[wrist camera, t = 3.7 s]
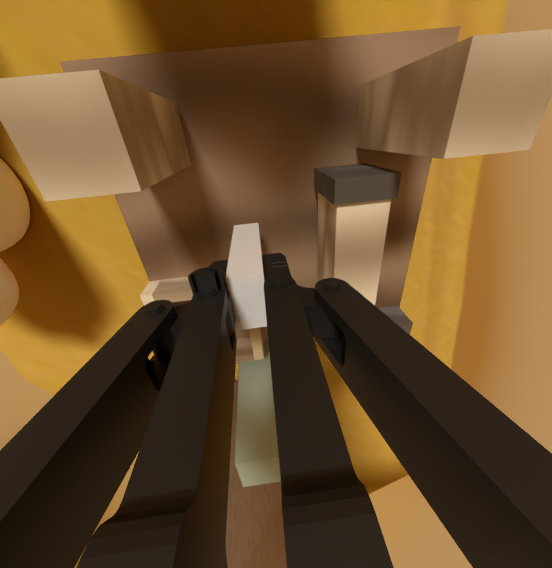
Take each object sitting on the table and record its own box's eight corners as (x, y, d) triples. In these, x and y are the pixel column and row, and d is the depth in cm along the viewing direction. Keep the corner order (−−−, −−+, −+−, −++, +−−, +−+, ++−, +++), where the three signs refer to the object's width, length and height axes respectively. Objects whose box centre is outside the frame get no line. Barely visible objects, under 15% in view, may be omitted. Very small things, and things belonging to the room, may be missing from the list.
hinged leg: (354, 275, 20) (379, 308, 16) (314, 280, 20) (330, 314, 16) (364, 163, 16) (401, 172, 12) (314, 168, 15) (335, 179, 12)
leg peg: (277, 359, 27) (292, 479, 18) (245, 363, 27) (243, 487, 17) (274, 335, 25) (289, 455, 16) (240, 339, 25) (234, 463, 16)
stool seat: (385, 312, 25) (456, 405, 16) (184, 337, 24) (148, 448, 16) (435, 39, 14) (704, -99, 6) (83, 70, 14) (-190, -34, 5)
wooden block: (285, 409, 32) (326, 727, 15) (230, 442, 35) (211, 741, 18) (228, 373, 27) (194, 768, 10) (170, 414, 30) (67, 778, 13)
